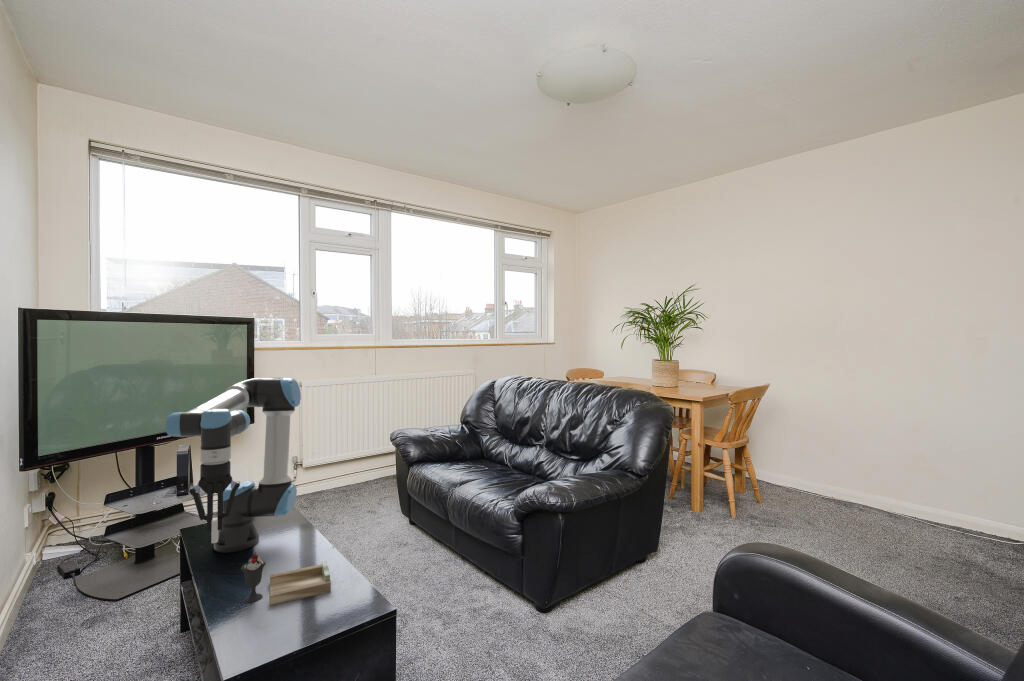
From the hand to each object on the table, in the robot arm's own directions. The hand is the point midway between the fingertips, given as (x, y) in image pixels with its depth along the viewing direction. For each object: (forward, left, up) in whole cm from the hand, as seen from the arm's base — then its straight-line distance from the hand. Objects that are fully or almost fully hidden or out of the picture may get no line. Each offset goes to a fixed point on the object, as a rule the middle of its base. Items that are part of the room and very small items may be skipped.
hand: (214, 541), depth 135 cm
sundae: (0, +10, -20) cm, 22 cm away
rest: (0, +23, -20) cm, 30 cm away
